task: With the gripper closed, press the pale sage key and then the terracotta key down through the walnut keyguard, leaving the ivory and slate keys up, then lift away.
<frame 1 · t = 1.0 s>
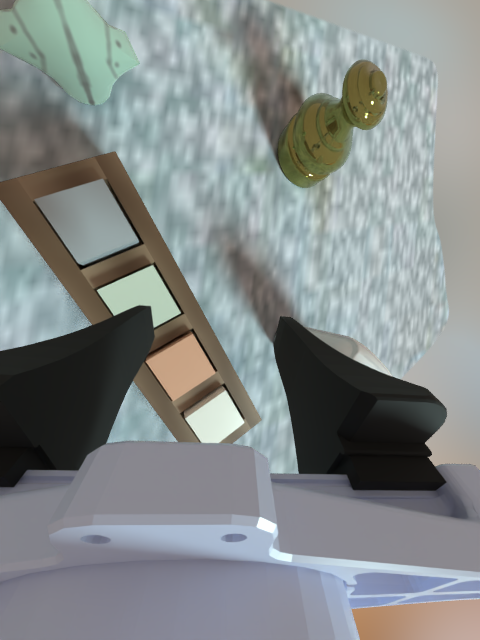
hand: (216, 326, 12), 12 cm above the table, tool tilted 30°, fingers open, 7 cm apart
ivory key: (214, 415, 21), point 4 cm above the table, slide at 0.0 cm
sage key: (142, 302, 17), point 4 cm above the table, slide at 0.0 cm
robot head: (90, 98, 18), on the table
olive green vase: (299, 159, 26), on the table
white rounded slab: (298, 352, 29), on the table
slate key: (94, 225, 15), point 4 cm above the table, slide at 0.0 cm
terracotta key: (181, 364, 19), point 4 cm above the table, slide at 0.0 cm
keyboard: (162, 327, 22), on the table
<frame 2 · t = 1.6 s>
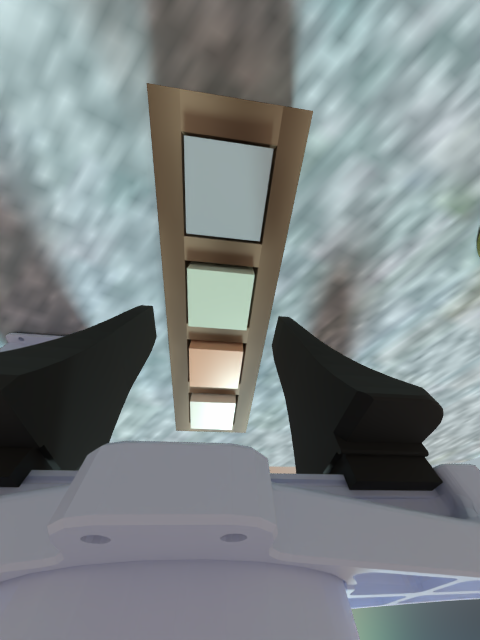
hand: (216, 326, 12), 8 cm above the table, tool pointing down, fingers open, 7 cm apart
ivory key: (213, 408, 22), point 4 cm above the table, slide at 0.0 cm
sage key: (220, 296, 15), point 4 cm above the table, slide at 0.0 cm
slate key: (226, 194, 12), point 4 cm above the table, slide at 0.0 cm
terracotta key: (215, 362, 18), point 4 cm above the table, slide at 0.0 cm
keyboard: (220, 309, 20), on the table
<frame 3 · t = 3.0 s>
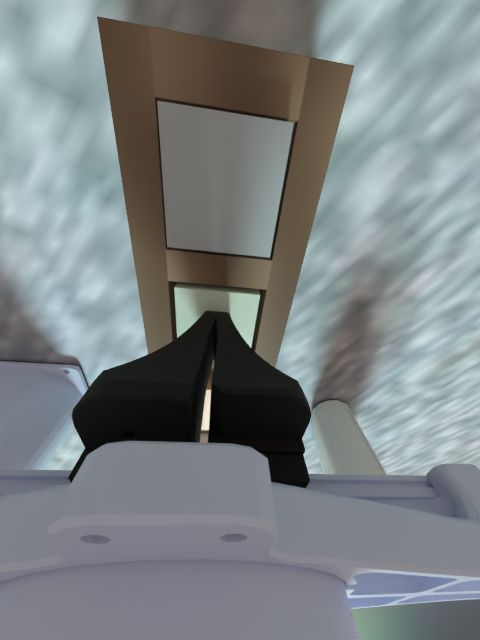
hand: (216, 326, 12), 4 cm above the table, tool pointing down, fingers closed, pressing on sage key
ivory key: (209, 447, 18), point 4 cm above the table, slide at 0.0 cm
sage key: (217, 318, 12), point 3 cm above the table, slide at 0.7 cm, touching gripper
white rounded slab: (327, 424, 25), on the table
slate key: (223, 193, 8), point 4 cm above the table, slide at 0.0 cm
terracotta key: (211, 399, 15), point 4 cm above the table, slide at 0.0 cm
keyboard: (217, 331, 17), on the table
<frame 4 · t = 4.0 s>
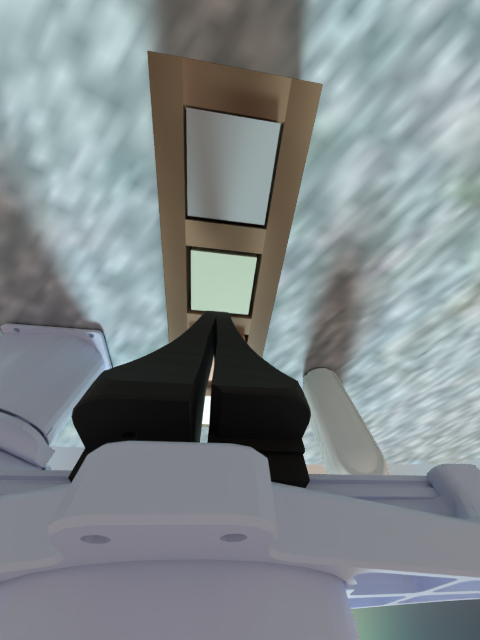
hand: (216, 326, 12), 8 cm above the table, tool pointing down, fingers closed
ivory key: (213, 402, 21), point 4 cm above the table, slide at 0.0 cm
sage key: (222, 280, 15), point 3 cm above the table, slide at 0.9 cm
white rounded slab: (318, 392, 28), on the table
slate key: (230, 175, 11), point 4 cm above the table, slide at 0.0 cm
terracotta key: (216, 354, 18), point 4 cm above the table, slide at 0.0 cm
keyboard: (221, 300, 20), on the table
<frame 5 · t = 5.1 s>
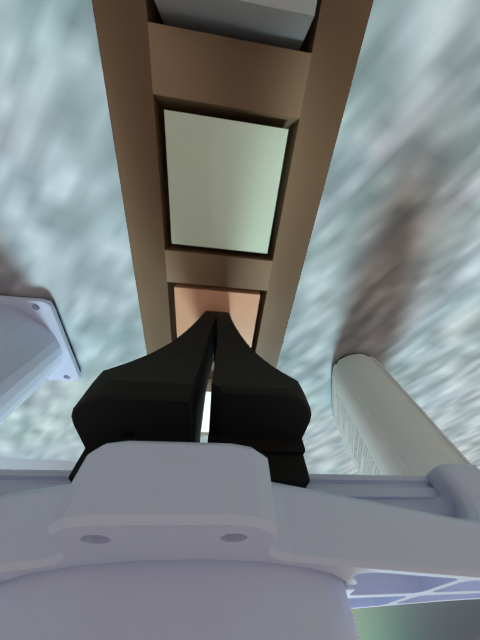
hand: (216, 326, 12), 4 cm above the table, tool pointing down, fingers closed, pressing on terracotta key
ivory key: (211, 401, 15), point 4 cm above the table, slide at 0.0 cm
sage key: (224, 193, 9), point 3 cm above the table, slide at 0.9 cm
white rounded slab: (348, 388, 21), on the table
terracotta key: (217, 318, 12), point 3 cm above the table, slide at 0.9 cm, touching gripper
keyboard: (222, 251, 14), on the table
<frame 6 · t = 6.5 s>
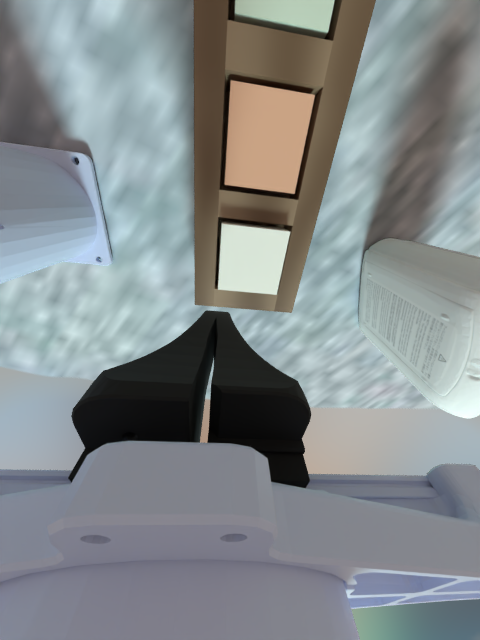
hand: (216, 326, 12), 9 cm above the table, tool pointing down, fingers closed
ivory key: (250, 258, 15), point 4 cm above the table, slide at 0.0 cm
white rounded slab: (376, 288, 21), on the table
terracotta key: (263, 147, 12), point 3 cm above the table, slide at 0.9 cm
keyboard: (265, 95, 14), on the table
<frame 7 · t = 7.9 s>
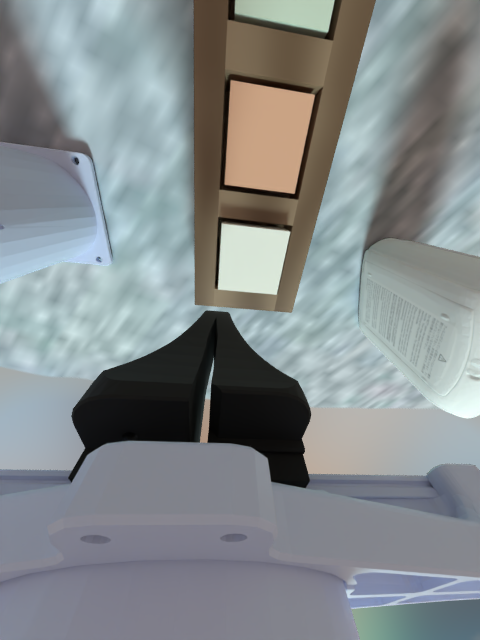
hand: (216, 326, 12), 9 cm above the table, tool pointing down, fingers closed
ivory key: (250, 258, 15), point 4 cm above the table, slide at 0.0 cm
white rounded slab: (376, 288, 21), on the table
terracotta key: (263, 147, 12), point 3 cm above the table, slide at 0.9 cm
keyboard: (265, 95, 14), on the table
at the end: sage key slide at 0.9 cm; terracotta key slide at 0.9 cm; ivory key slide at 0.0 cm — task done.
